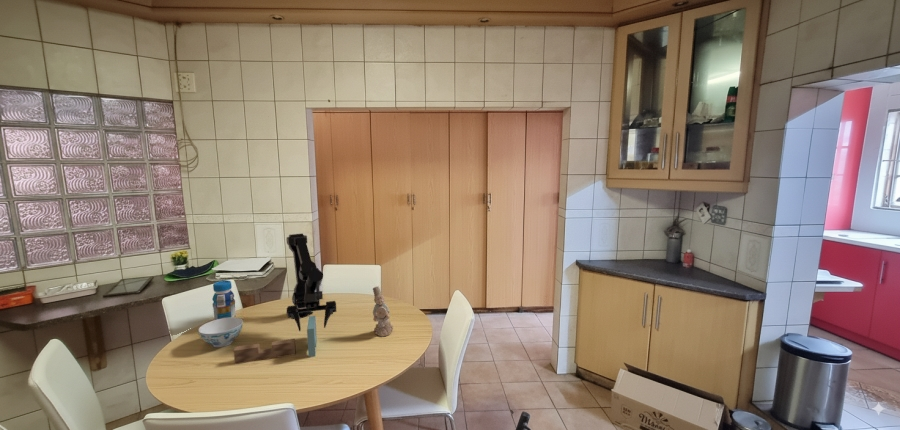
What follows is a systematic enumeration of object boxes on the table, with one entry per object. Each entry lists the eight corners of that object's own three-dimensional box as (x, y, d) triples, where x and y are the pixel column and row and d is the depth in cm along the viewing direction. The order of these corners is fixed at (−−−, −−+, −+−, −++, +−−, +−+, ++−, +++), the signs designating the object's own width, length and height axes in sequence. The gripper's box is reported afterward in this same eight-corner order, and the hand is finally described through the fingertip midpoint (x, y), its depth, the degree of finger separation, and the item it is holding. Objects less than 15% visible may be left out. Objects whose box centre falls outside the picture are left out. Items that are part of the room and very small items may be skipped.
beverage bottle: (210, 327, 156) (206, 284, 153) (228, 320, 163) (224, 278, 161) (223, 331, 153) (219, 286, 150) (241, 323, 160) (237, 280, 158)
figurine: (373, 328, 155) (371, 284, 152) (392, 326, 156) (391, 283, 154) (373, 338, 146) (371, 291, 143) (394, 336, 148) (392, 290, 145)
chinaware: (252, 338, 146) (251, 321, 145) (215, 356, 132) (213, 336, 131) (229, 331, 152) (227, 314, 151) (191, 347, 139) (189, 329, 137)
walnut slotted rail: (234, 363, 127) (233, 350, 126) (236, 359, 130) (235, 346, 129) (294, 354, 133) (294, 342, 133) (295, 350, 136) (294, 338, 136)
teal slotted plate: (310, 342, 143) (309, 316, 141) (316, 341, 143) (315, 315, 142) (308, 357, 131) (306, 329, 130) (315, 356, 132) (313, 328, 131)
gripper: (285, 287, 139) (283, 325, 130) (335, 282, 145) (336, 318, 136) (289, 299, 148) (287, 335, 139) (335, 294, 154) (337, 328, 145)
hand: (312, 329), depth 139 cm, fingers open, 9 cm apart
